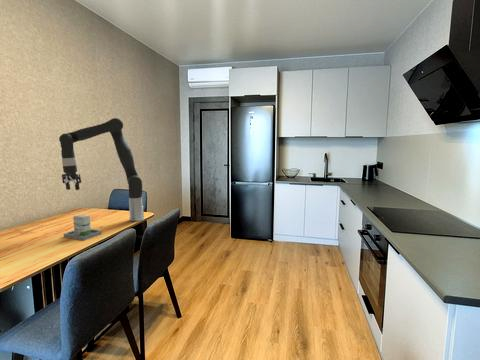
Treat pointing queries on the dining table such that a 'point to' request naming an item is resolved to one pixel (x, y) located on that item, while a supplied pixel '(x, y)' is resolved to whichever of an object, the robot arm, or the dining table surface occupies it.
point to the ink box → (82, 225)
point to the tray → (93, 234)
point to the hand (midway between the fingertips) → (72, 189)
